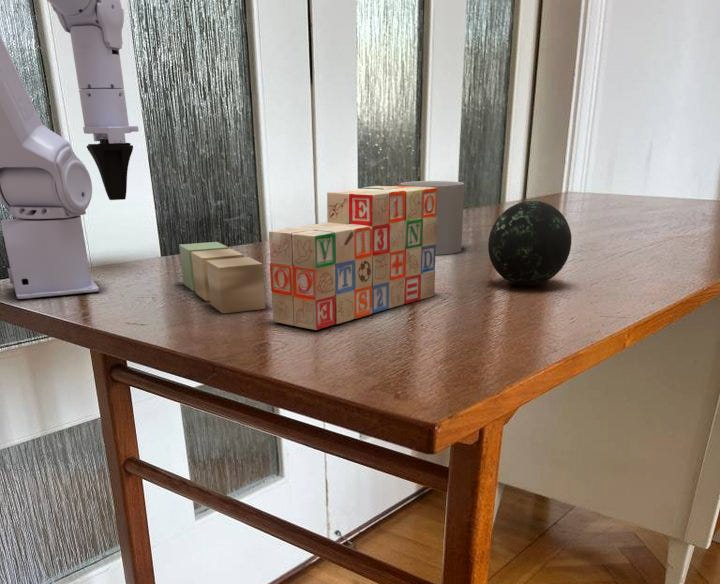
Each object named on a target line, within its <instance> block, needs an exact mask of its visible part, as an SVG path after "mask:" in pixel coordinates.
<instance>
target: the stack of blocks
mask: <svg viewBox="0 0 720 584" xmlns="http://www.w3.org/2000/svg"><path fill="white" fill-rule="evenodd" d="M437 195H438V189H437V188H434V187H417V186H416V187H411V186H400V185H373V186H363V187H362V188H353V189H346V190H335V191H327V192H326V207H327V208H326V215H327V216H326V217H327V218H326V220H327V222H322V223H315V224H306V225H300V226H292V227H287V228H281V229H275V230H274V229H273V230H269V231H268V242H269V244H268V245H269V260H270V263H269V279H270V291H271V307H272V321H273V322H274V323H279V324H284V325H288V326H294V327H298V328H304V329H309V330H313V331H318V330H320V329H325V328H328V327H330V326H334V325H338V324H342V323H343V324H344V323H346V322H349V321H352V320H354V319H359V318H362V317H366V316H370V315H372V314H375V313H378V312H379V313H380V312H382V311H386V310H388V309H393V308H396V307H400V306H402V305H406V304H410V303H414V302H417V301H421V300H424V299H429V298H432V297H434V296H435V290H436V289H435V288H436V255H435V252H436V240H437V216H436V214H437Z"/></svg>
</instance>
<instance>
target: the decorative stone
mask: <svg viewBox="0 0 720 584" xmlns="http://www.w3.org/2000/svg"><path fill="white" fill-rule="evenodd" d="M487 243H488V244H487V250H488V251H487V252H488V257H489V259H490V262H491V265H492V266H493V268H494V270H495V271H496V272H497V274H498V275H499V276H500V277H501V278H502V279H504V280H505V281H507V282H508V283H511V284H514V285H517V286H519V287H520V286H521V287H535V286H539V285H542V284H544V283H547V282H548V281H550V280H551V279H552V278H554V277H555V276H556V275H557V274H558V273H559V272H560V271H562V269H563V267H564V266H565V265H566V262H567V261H568V259H569V256H570V253H571V248H572V231H571V228H570V225H569V223H568V221H567V219H566V217H565V216H564V214H562V212H561V211H560V210H558V209H557V208H556V207H555V206H553V205H552V204H550V203H547V202H545V201H540V200H527V201H521V202H518V203H516V204H513V205H512V206H510V207H508V208H507V209H506V210H505V211H503V212H502V213H501V214H500V215H499V216H498V217H497V219H496V220H495V222H494V223H493V225H492V226H491V230H490V232H489V235H488V241H487Z"/></svg>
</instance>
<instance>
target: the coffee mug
mask: <svg viewBox="0 0 720 584" xmlns="http://www.w3.org/2000/svg"><path fill="white" fill-rule="evenodd" d="M399 186H411V187H416V186H417V187H434V188H437V189H438V195H437V214H436V216H437V240H436V252H435V256H441V255H444V256H445V255H453V254H457V253H459V252H461V251H462V247H463V245H462V242H463V225H464V224H463V222H464V221H463V220H464V200H465V183H464V182H461V181H449V180H418V181H417V180H416V181H405V182H401V183H400V184H399Z"/></svg>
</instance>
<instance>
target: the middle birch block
mask: <svg viewBox="0 0 720 584" xmlns="http://www.w3.org/2000/svg"><path fill="white" fill-rule="evenodd" d="M191 255H192V264H193V274H194V283H195V291H194V292H195V295H197V296H198V297H199V298H201V299H202V300H204V301H205V302H210V293H209V283H208V273H207V262H206V261H207V260H219V259H230V258H242V257H245V256H244V254H243V253H242V252H239V251H237V250H235V249H233V248H228V249H220V250H208V251H195V252H191Z"/></svg>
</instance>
